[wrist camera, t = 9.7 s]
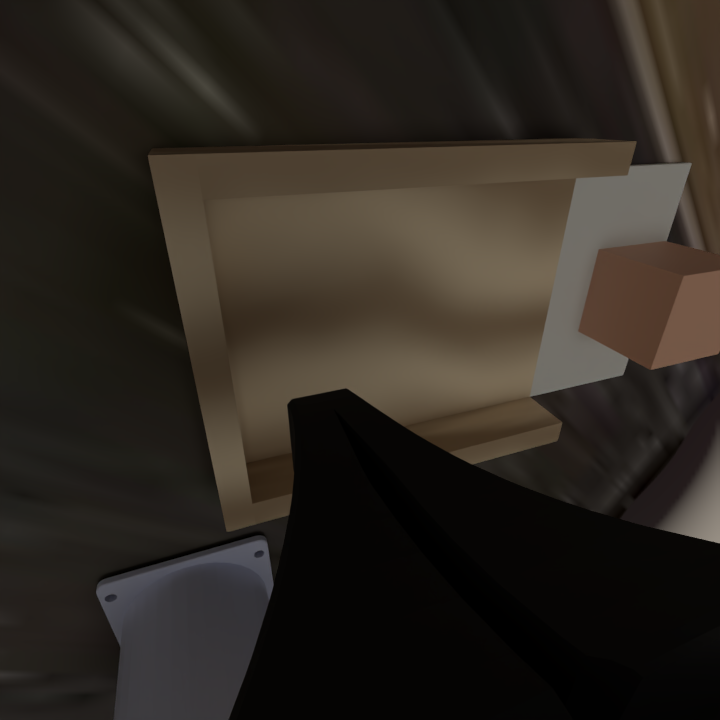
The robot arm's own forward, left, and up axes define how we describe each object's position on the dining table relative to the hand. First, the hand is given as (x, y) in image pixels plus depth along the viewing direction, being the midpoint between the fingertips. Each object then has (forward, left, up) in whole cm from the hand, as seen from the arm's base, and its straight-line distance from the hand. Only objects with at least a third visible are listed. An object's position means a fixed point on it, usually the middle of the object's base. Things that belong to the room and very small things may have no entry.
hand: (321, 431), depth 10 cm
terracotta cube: (-2, -19, -9) cm, 21 cm away
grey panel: (-2, -18, -9) cm, 20 cm away
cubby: (-2, -6, -9) cm, 11 cm away
